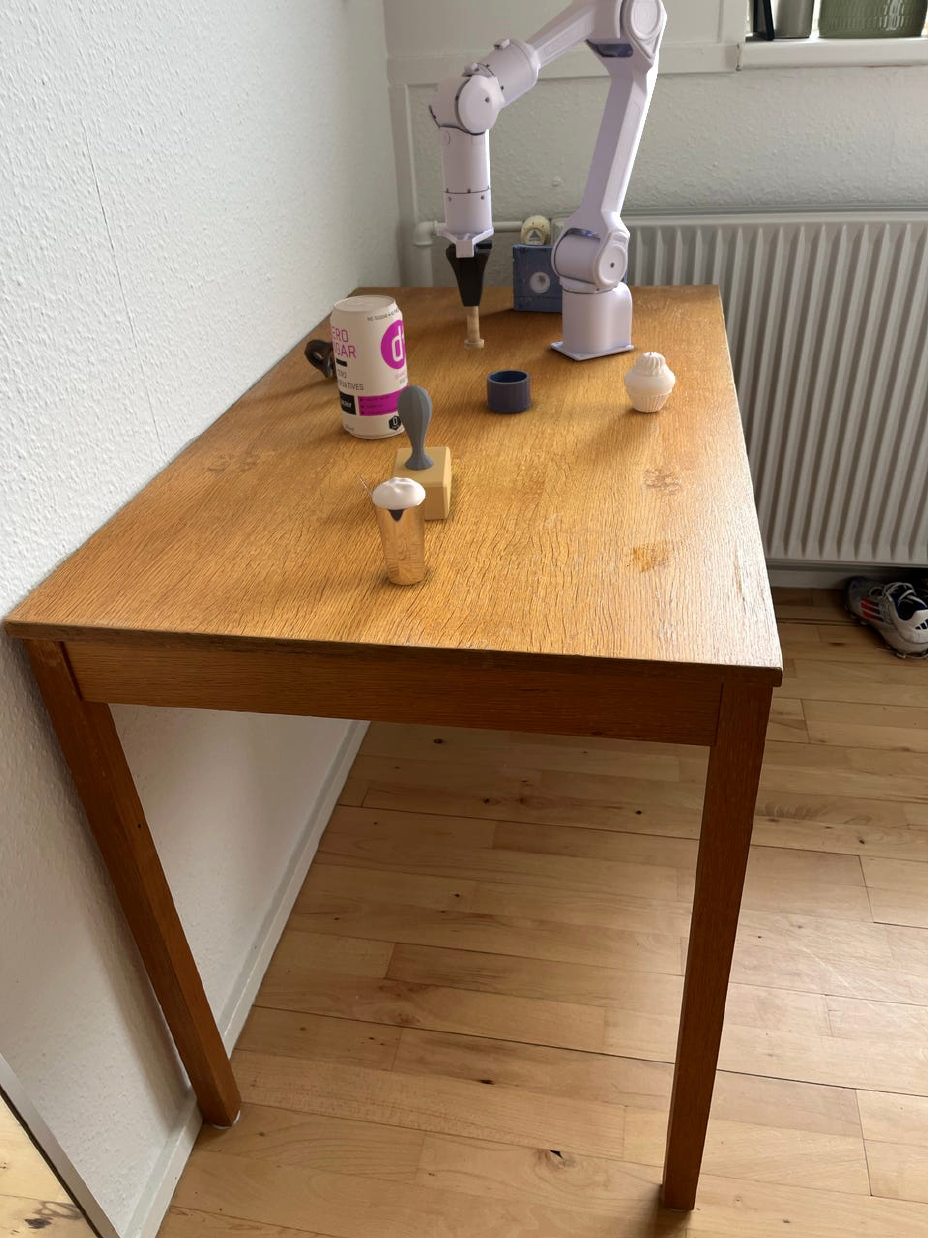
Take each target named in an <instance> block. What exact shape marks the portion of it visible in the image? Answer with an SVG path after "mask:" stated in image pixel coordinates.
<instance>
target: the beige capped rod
mask: <svg viewBox="0 0 928 1238" xmlns="http://www.w3.org/2000/svg"><path fill="white" fill-rule="evenodd" d="M466 324H467V326H466V328H467V339H464V340H463V347H464V349H465V350H470V351H476V350H481V349H483V348H484V347H485V340H484V339H483V338H481V337H480V320H479V306H472V307H466Z"/></svg>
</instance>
